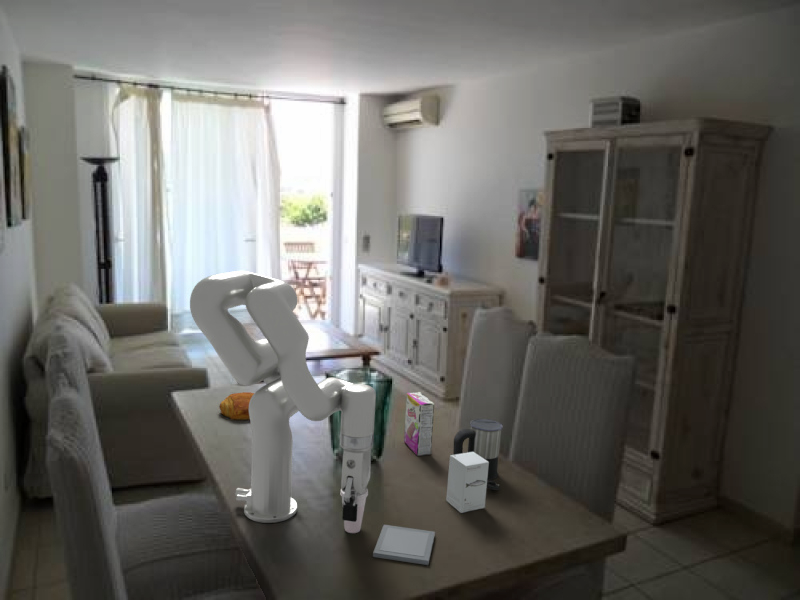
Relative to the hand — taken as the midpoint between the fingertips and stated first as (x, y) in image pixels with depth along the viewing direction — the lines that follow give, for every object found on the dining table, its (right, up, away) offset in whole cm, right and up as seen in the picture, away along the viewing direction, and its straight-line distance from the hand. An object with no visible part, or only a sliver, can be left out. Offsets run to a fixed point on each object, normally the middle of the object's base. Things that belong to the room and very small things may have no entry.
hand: (353, 512), depth 146 cm
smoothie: (0, -4, +1) cm, 4 cm away
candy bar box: (+16, +3, +49) cm, 52 cm away
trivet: (+12, -6, -5) cm, 14 cm away
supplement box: (+27, -3, +15) cm, 32 cm away
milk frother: (+34, -1, +30) cm, 46 cm away
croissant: (-43, +10, +70) cm, 83 cm away
